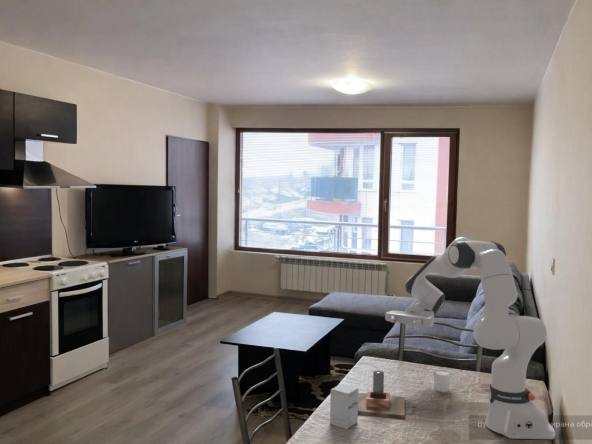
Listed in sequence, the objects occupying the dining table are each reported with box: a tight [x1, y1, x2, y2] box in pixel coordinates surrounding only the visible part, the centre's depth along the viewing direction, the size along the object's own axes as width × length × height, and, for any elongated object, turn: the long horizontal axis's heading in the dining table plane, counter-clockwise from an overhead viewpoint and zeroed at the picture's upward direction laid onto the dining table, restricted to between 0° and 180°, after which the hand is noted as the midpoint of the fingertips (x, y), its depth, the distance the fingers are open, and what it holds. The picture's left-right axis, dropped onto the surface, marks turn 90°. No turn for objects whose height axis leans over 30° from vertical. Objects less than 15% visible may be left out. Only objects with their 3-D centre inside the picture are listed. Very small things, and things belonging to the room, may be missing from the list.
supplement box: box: [329, 383, 359, 430], centre depth 189 cm, size 7×7×13 cm
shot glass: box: [433, 370, 451, 393], centre depth 223 cm, size 7×7×7 cm
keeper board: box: [358, 390, 406, 419], centre depth 204 cm, size 20×18×4 cm
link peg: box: [372, 370, 385, 399], centre depth 204 cm, size 4×4×12 cm
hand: (403, 322), depth 222 cm, fingers open, 8 cm apart
